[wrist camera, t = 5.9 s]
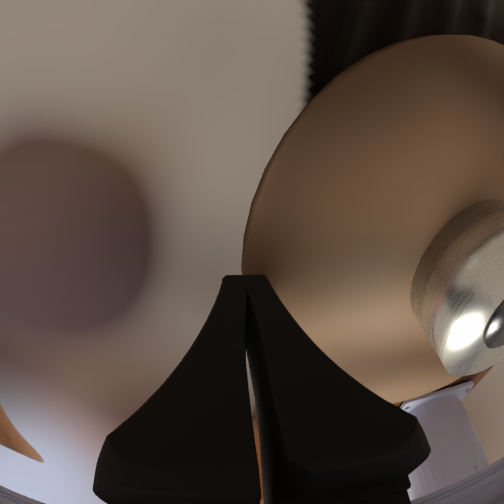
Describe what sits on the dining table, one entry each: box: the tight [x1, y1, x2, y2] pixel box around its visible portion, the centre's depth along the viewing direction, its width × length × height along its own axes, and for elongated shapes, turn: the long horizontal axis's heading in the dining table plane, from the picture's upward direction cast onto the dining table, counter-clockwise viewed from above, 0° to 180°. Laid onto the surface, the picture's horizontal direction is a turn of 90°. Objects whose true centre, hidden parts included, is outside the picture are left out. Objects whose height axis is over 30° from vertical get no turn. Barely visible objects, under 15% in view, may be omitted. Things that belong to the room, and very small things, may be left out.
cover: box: [410, 199, 504, 376], centre depth 10 cm, size 7×7×3 cm
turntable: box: [241, 35, 504, 403], centre depth 12 cm, size 20×20×1 cm
